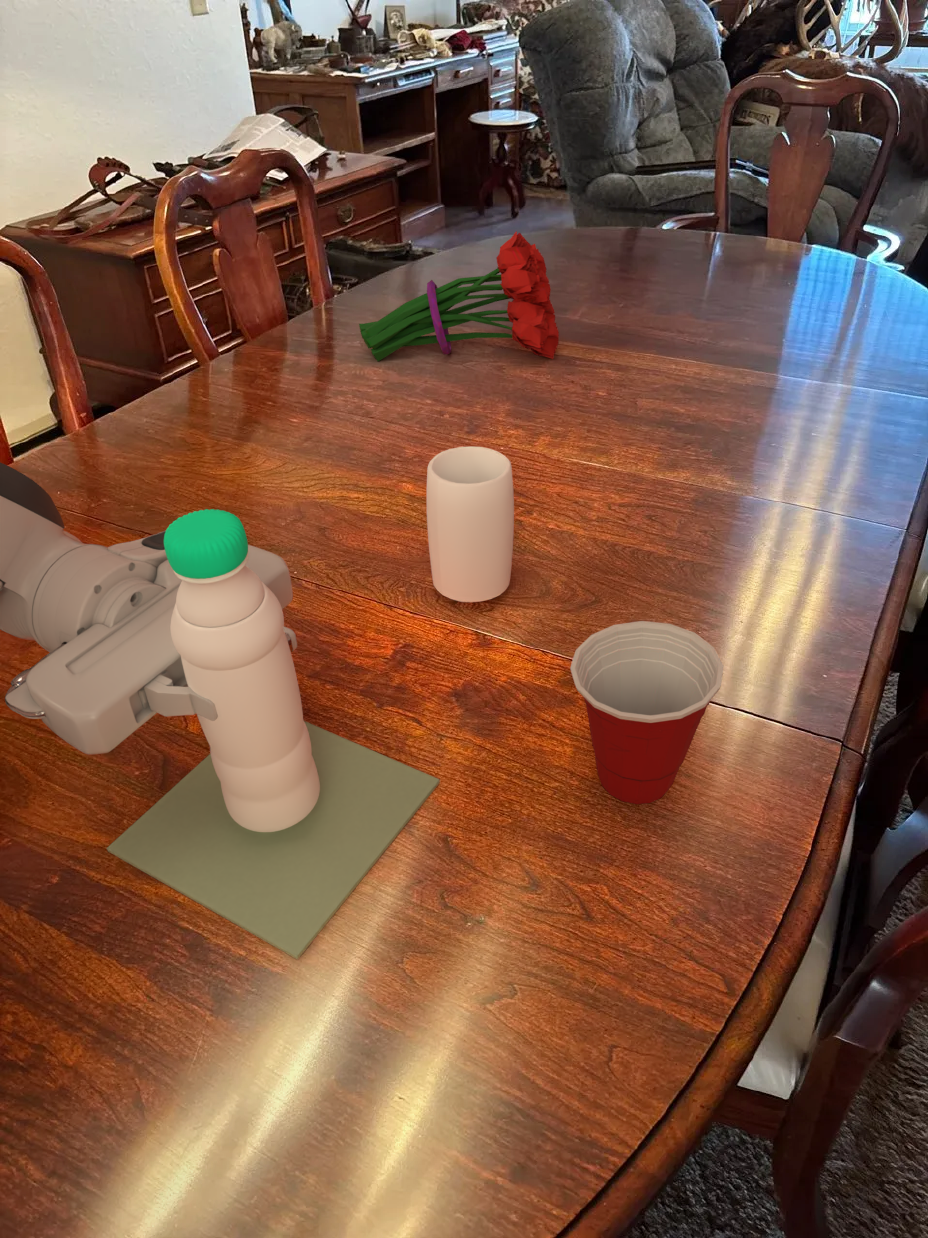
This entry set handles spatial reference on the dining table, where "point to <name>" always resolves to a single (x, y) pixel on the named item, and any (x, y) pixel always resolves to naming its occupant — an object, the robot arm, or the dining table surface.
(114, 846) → the mat
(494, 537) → the cup
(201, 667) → the water bottle
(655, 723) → the plastic cup
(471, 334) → the bouquet
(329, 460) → the dining table surface
